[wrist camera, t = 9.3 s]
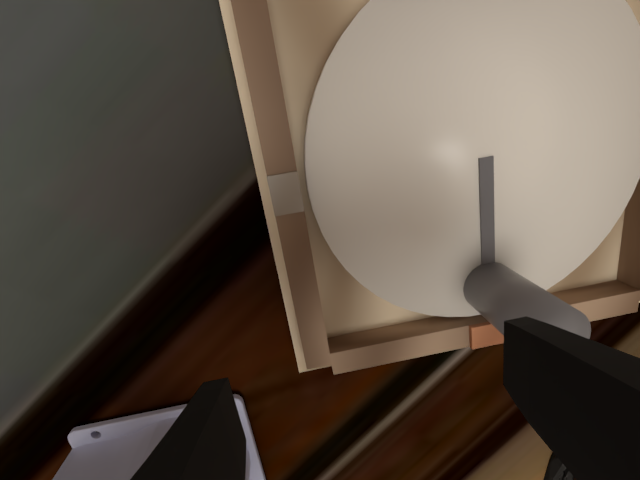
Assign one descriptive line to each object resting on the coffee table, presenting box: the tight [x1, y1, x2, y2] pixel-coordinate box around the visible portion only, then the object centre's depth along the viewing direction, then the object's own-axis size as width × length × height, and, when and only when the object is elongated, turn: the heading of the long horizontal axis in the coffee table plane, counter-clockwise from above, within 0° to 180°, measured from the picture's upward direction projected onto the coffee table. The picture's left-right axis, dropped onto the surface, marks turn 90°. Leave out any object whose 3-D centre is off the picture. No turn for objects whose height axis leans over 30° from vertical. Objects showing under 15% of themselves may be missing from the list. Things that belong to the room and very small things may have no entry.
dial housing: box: [219, 0, 640, 375], centre depth 16 cm, size 19×19×3 cm
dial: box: [304, 0, 640, 339], centre depth 13 cm, size 15×15×5 cm
